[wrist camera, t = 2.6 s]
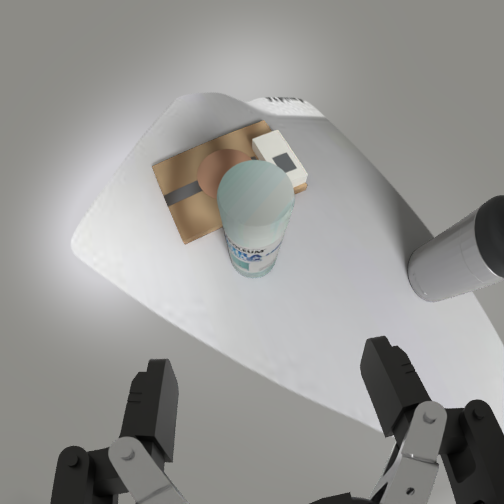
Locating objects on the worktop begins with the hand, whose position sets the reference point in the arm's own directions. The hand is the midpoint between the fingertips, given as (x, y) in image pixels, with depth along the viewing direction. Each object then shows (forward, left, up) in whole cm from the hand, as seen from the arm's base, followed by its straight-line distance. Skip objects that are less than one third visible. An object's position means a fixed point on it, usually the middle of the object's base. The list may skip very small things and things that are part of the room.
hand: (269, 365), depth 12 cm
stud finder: (-15, -23, -29) cm, 39 cm away
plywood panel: (-7, -25, -30) cm, 40 cm away
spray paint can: (-5, -12, -30) cm, 33 cm away
